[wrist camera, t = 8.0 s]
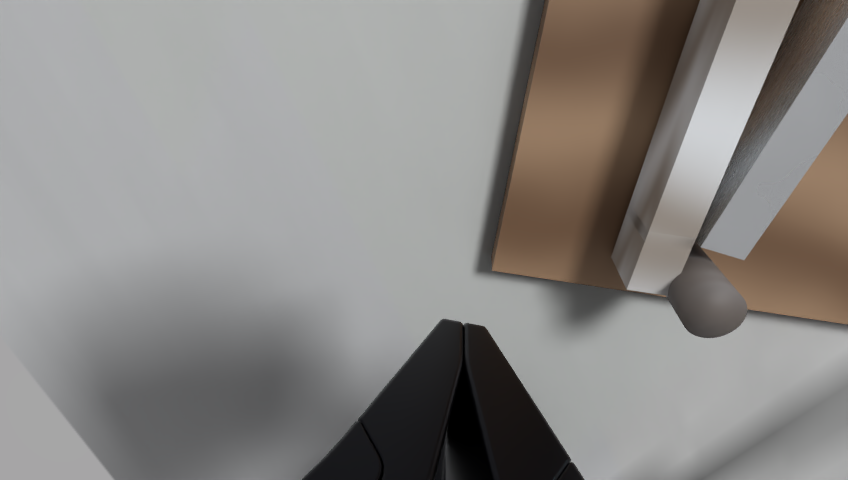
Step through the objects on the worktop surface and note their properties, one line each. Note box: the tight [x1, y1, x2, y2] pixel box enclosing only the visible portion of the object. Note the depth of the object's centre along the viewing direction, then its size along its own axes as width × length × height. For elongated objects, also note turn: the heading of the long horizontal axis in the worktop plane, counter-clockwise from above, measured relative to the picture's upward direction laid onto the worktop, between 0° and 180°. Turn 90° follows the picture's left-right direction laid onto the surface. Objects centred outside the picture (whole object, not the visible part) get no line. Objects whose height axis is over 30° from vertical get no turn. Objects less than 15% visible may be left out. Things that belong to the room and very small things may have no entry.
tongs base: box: [491, 0, 848, 338], centre depth 15 cm, size 18×18×5 cm
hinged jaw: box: [695, 0, 848, 260], centre depth 14 cm, size 14×2×3 cm, turn 165°
